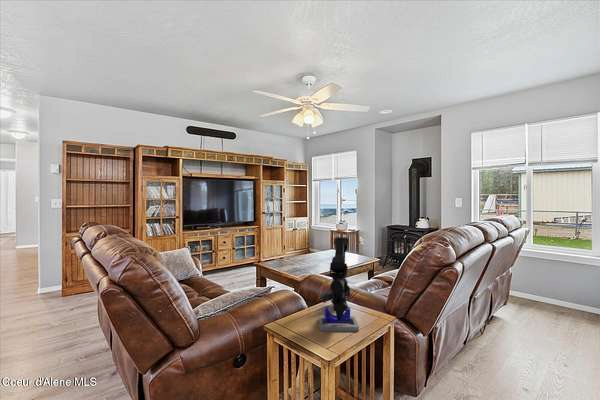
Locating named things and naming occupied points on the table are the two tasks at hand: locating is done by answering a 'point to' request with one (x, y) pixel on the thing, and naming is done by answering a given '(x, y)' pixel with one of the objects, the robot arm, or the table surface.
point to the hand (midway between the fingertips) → (338, 318)
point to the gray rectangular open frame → (338, 327)
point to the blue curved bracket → (333, 318)
